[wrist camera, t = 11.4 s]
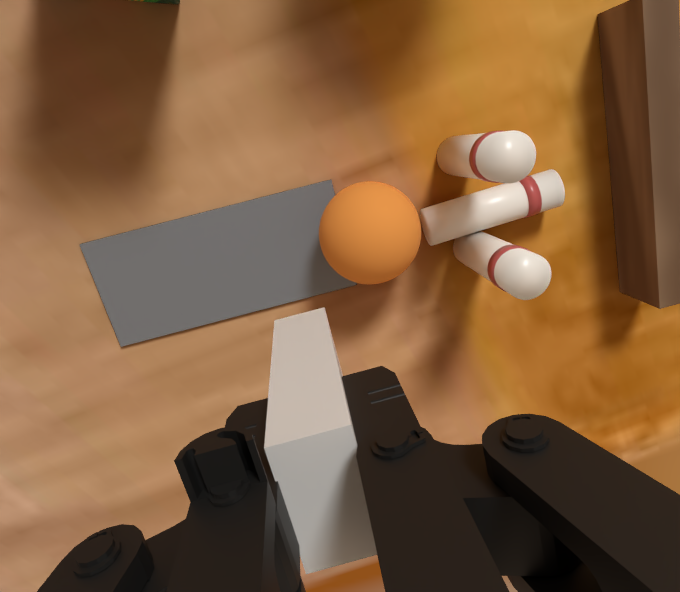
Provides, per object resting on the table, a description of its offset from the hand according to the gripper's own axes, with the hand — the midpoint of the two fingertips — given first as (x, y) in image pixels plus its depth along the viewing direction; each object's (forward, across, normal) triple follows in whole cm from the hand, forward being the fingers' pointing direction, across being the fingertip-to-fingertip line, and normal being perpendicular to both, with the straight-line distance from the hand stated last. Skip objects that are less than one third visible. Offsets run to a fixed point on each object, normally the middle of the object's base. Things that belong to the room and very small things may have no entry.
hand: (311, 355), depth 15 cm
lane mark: (+18, -5, 0) cm, 19 cm away
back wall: (+18, +22, 0) cm, 29 cm away
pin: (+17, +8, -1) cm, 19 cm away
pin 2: (+18, +11, -3) cm, 22 cm away
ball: (+15, +4, 0) cm, 16 cm away
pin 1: (+18, +11, +3) cm, 22 cm away
